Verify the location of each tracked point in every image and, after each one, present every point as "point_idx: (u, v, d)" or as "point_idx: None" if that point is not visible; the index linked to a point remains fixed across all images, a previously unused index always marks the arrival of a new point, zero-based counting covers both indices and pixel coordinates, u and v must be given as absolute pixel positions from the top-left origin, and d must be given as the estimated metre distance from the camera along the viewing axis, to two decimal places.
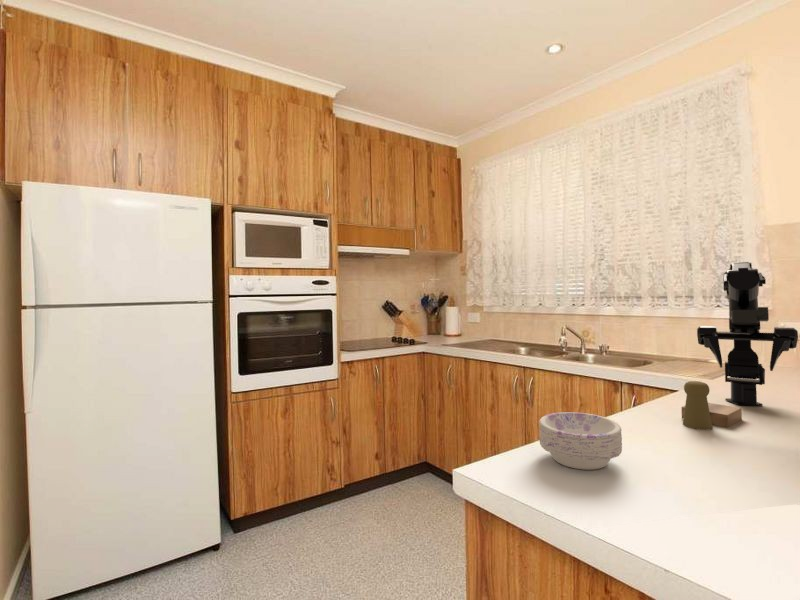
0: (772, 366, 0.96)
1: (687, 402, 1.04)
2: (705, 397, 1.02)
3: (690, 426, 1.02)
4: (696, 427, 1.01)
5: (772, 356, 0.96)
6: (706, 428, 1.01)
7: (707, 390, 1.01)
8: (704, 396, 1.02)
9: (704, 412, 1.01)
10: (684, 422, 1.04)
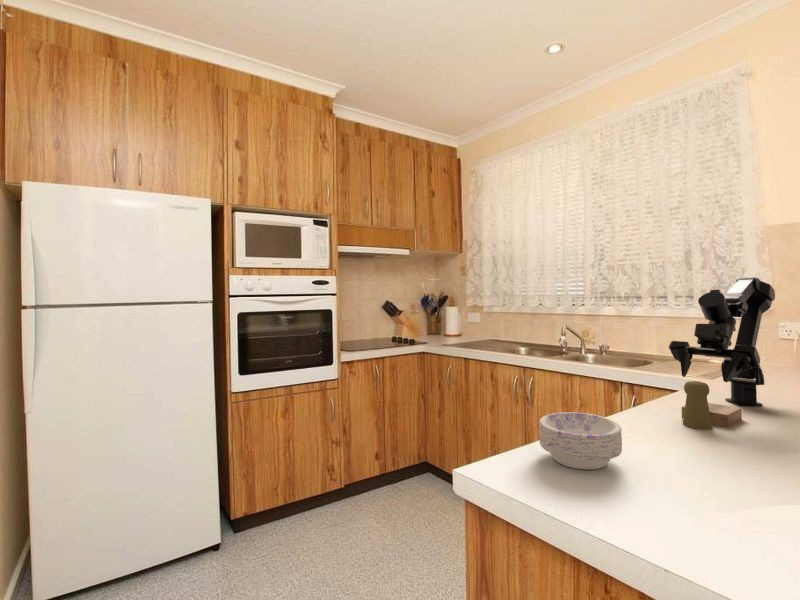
0: (726, 377, 1.02)
1: (687, 402, 1.04)
2: (705, 397, 1.02)
3: (690, 426, 1.02)
4: (696, 427, 1.01)
5: (728, 369, 1.03)
6: (706, 428, 1.01)
7: (707, 390, 1.01)
8: (704, 396, 1.02)
9: (704, 412, 1.01)
10: (684, 422, 1.04)
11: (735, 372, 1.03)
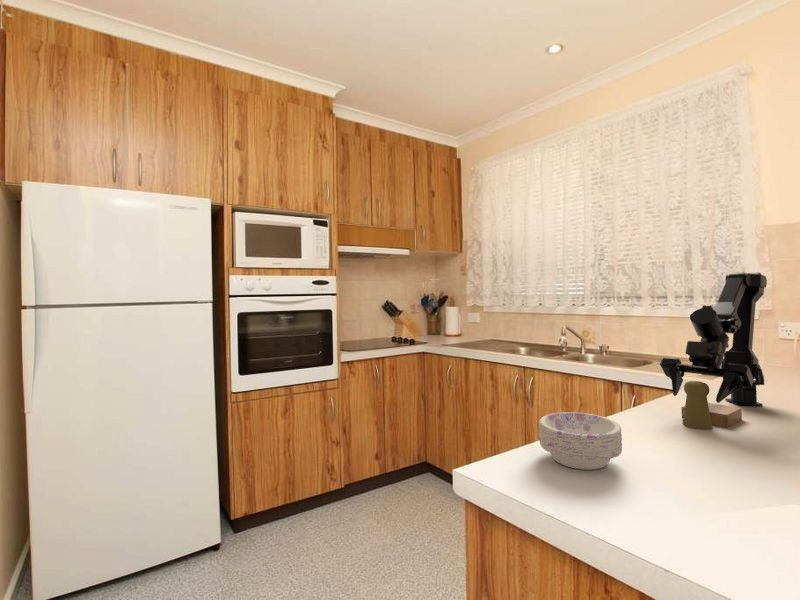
0: (718, 397, 0.99)
1: (687, 402, 1.04)
2: (705, 397, 1.02)
3: (690, 426, 1.02)
4: (696, 427, 1.01)
5: (720, 389, 1.00)
6: (706, 428, 1.01)
7: (707, 390, 1.01)
8: (704, 396, 1.02)
9: (704, 412, 1.01)
10: (684, 422, 1.04)
11: (727, 392, 1.00)
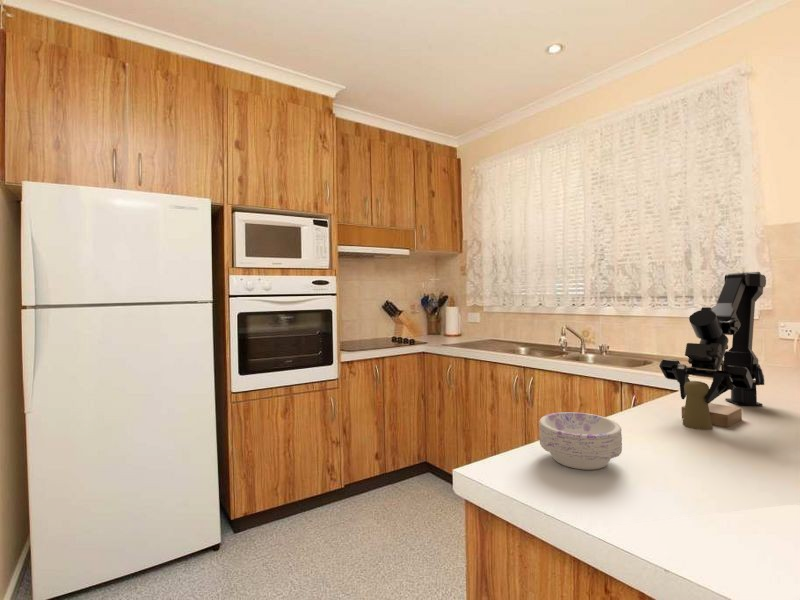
0: (707, 398, 1.01)
1: (687, 402, 1.04)
2: (705, 397, 1.02)
3: (690, 426, 1.02)
4: (696, 427, 1.01)
5: (710, 389, 1.01)
6: (706, 428, 1.01)
7: (707, 390, 1.01)
8: (704, 396, 1.02)
9: (704, 412, 1.01)
10: (684, 422, 1.04)
11: (717, 393, 1.01)
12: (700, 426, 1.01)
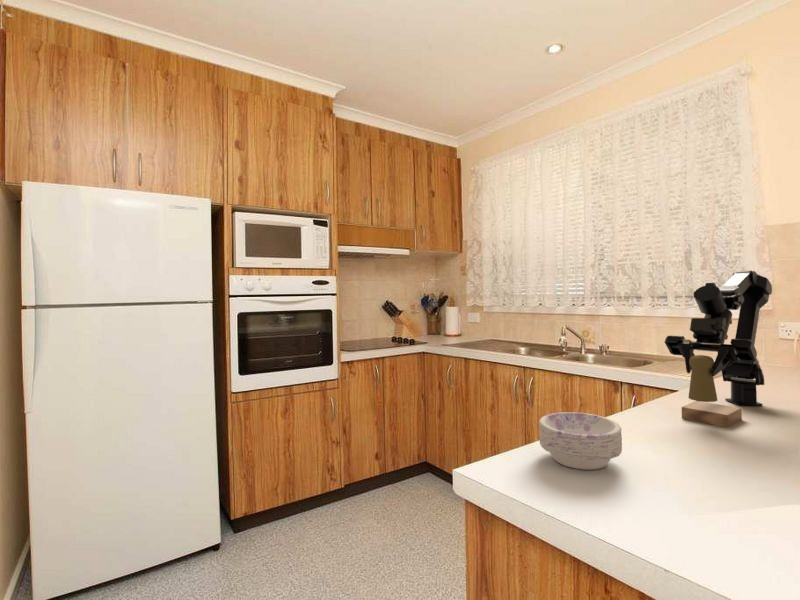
0: (713, 371, 1.03)
1: (692, 376, 1.06)
2: (710, 370, 1.04)
3: (696, 399, 1.05)
4: (702, 400, 1.04)
5: (715, 362, 1.03)
6: (711, 400, 1.03)
7: (712, 363, 1.03)
8: (709, 369, 1.04)
9: (710, 385, 1.03)
10: (690, 395, 1.06)
11: (722, 366, 1.04)
12: (706, 398, 1.03)
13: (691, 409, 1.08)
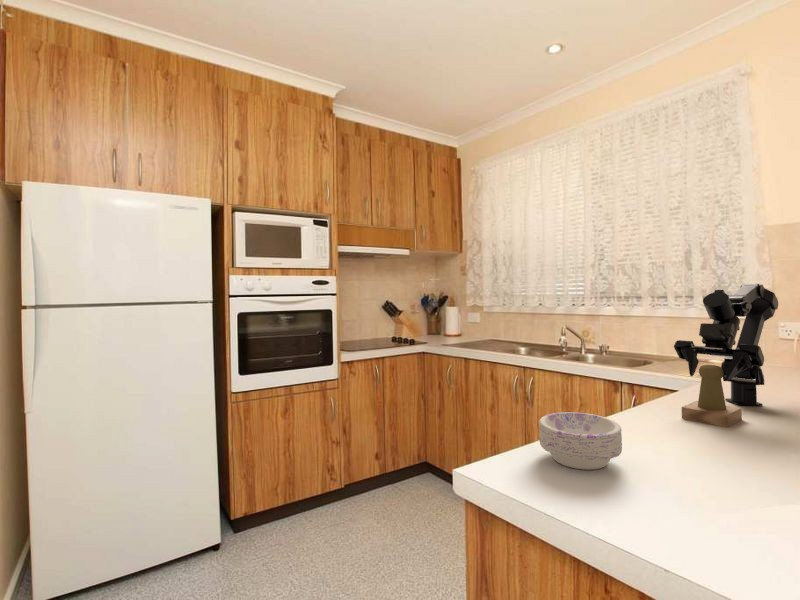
0: (727, 376, 1.05)
1: (702, 385, 1.09)
2: (719, 380, 1.07)
3: (705, 407, 1.08)
4: (711, 408, 1.07)
5: (730, 367, 1.06)
6: (721, 409, 1.06)
7: (721, 373, 1.07)
8: (719, 379, 1.07)
9: (719, 394, 1.07)
10: (699, 404, 1.10)
11: (736, 371, 1.06)
12: (715, 407, 1.06)
13: (691, 409, 1.08)
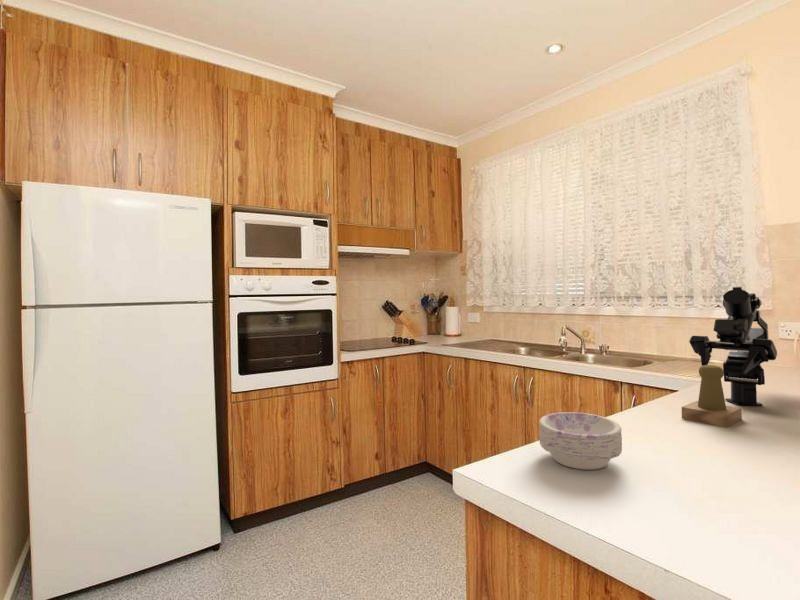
0: (744, 369, 1.10)
1: (702, 385, 1.09)
2: (719, 380, 1.07)
3: (705, 407, 1.08)
4: (711, 408, 1.07)
5: (746, 361, 1.10)
6: (721, 409, 1.06)
7: (721, 373, 1.07)
8: (718, 379, 1.07)
9: (719, 394, 1.07)
10: (699, 404, 1.10)
11: (753, 364, 1.10)
12: (715, 407, 1.06)
13: (691, 409, 1.08)
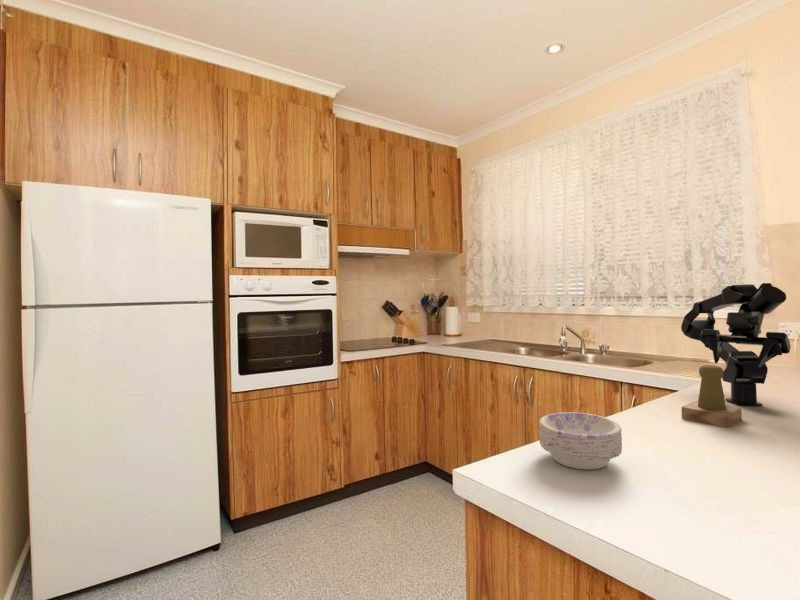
0: (758, 362, 1.08)
1: (702, 385, 1.09)
2: (719, 380, 1.07)
3: (705, 407, 1.08)
4: (711, 408, 1.07)
5: (760, 354, 1.09)
6: (721, 409, 1.06)
7: (721, 373, 1.07)
8: (718, 379, 1.07)
9: (719, 394, 1.07)
10: (699, 404, 1.10)
11: (767, 358, 1.09)
12: (715, 407, 1.06)
13: (691, 409, 1.08)
